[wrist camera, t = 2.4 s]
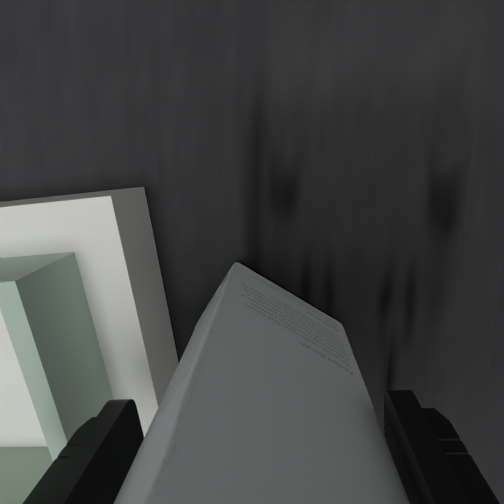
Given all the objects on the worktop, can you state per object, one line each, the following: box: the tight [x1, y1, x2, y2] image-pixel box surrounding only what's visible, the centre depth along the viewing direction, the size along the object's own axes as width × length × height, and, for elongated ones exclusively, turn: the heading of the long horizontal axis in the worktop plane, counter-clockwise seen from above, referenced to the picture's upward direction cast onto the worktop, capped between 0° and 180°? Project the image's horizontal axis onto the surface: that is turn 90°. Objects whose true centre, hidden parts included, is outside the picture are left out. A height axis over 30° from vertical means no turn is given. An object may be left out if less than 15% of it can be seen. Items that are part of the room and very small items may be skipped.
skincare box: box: [114, 262, 410, 504], centre depth 11 cm, size 6×4×12 cm
